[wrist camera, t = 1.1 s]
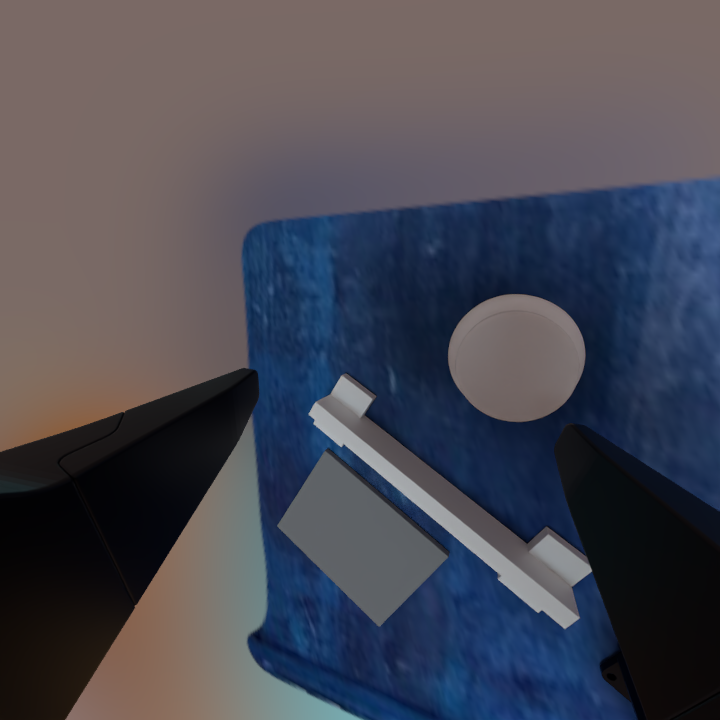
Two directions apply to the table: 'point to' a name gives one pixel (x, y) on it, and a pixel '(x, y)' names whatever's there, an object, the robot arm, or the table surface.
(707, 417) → the table surface
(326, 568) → the slate mat
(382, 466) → the white barrier
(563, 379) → the supplement bottle
